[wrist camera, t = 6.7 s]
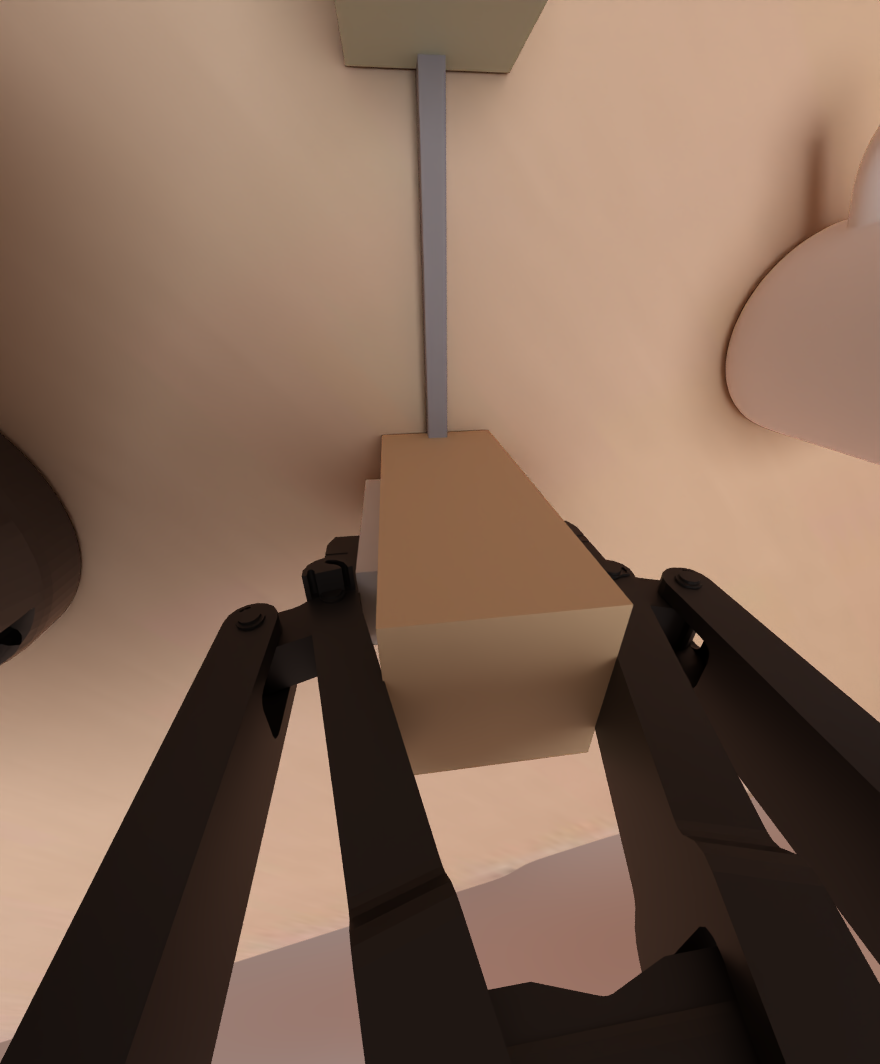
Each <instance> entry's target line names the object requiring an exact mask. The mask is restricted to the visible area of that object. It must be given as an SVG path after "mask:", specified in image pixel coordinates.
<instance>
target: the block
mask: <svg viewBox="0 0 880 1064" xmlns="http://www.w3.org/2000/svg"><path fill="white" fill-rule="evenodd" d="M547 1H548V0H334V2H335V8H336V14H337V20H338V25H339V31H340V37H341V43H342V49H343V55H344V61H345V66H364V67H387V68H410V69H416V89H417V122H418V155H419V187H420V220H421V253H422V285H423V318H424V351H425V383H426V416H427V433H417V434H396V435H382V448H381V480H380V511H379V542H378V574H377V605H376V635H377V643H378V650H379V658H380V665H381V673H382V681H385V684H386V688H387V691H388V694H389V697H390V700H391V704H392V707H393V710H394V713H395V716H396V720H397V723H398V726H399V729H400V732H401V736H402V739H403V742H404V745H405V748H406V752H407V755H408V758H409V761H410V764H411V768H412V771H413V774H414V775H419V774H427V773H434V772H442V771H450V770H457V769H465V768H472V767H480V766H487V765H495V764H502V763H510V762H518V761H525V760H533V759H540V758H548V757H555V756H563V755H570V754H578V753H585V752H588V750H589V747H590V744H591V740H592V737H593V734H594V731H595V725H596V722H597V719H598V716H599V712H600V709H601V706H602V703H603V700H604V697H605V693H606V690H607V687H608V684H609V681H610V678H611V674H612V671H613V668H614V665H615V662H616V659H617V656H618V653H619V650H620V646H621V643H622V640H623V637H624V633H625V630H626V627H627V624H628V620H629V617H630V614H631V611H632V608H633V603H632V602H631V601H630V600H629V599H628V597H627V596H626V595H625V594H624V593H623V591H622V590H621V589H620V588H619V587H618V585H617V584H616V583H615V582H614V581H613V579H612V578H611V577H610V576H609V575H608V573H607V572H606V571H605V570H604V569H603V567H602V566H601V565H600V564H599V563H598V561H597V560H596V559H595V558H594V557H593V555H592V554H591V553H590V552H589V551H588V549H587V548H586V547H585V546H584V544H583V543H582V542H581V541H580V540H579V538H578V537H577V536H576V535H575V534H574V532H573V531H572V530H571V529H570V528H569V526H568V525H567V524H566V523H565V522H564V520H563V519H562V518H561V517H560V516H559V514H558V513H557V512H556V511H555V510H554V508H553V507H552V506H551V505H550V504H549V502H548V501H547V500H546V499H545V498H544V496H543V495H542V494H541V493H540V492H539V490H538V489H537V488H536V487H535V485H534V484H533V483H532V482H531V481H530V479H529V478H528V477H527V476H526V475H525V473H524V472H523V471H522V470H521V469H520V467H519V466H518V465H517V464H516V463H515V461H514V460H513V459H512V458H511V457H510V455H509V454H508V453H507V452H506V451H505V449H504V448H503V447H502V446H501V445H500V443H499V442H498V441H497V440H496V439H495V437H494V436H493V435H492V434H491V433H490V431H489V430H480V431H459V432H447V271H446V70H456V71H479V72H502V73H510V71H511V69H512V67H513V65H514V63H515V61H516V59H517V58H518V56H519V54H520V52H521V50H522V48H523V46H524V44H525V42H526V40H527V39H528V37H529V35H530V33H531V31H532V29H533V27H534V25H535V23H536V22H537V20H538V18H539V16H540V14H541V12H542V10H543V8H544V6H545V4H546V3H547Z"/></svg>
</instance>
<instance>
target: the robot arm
mask: <svg viewBox="0 0 880 1064" xmlns="http://www.w3.org/2000/svg"><path fill="white" fill-rule="evenodd" d="M380 480H381V479H371V480H366V483H365V492H364V501H363V510H362V519H361V528H360V536H346V537H335V538H334V539H333V540H332V541H331V542H330V543H329V544H328V545H327V550H326V554H325V555H326V556H325V558H323V559H320V560H317V561H315V562H313V563H311V564H309V565H308V566H307V567H306V568H305V569H304V570H303V573H302V580H303V584H304V589H305V593H306V597H307V602H306V603H304V604H302V605H300V606H298V607H295V608H293V609H290V610H286V611H283V612H280V613H278V612H277V610H276V609H275V607H274V606H272V605H269V604H265V603H256V604H251V605H247V606H244V607H242V608H240V609H237V610H236V611H235V612H233V613H232V614H230V615H229V616H228V617H227V619H226V620H225V621H224V622H223V624H222V626H221V628H220V630H219V632H218V634H217V636H216V638H215V640H214V642H213V644H212V646H211V648H210V650H209V652H208V654H207V656H206V658H205V660H204V662H203V664H202V666H201V668H200V670H199V672H198V674H197V676H196V678H195V679H194V681H193V683H192V685H191V687H190V689H189V691H188V693H187V695H186V697H185V699H184V701H183V703H182V705H181V707H180V709H179V711H178V713H177V715H176V717H175V719H174V721H173V723H172V725H171V727H170V729H169V731H168V733H167V735H166V737H165V739H164V741H163V743H162V745H161V747H160V749H159V751H158V753H157V754H156V756H155V758H154V760H153V762H152V764H151V766H150V768H149V770H148V772H147V774H146V776H145V778H144V780H143V782H142V784H141V786H140V788H139V790H138V792H137V794H136V796H135V798H134V800H133V802H132V804H131V806H130V808H129V810H128V812H127V814H126V816H125V818H124V820H123V822H122V824H121V826H120V828H119V830H118V831H117V833H116V835H115V837H114V839H113V841H112V843H111V845H110V847H109V849H108V851H107V853H106V855H105V857H104V859H103V861H102V863H101V865H100V867H99V869H98V871H97V873H96V875H95V877H94V879H93V881H92V883H91V885H90V887H89V889H88V891H87V893H86V895H85V897H84V899H83V901H82V903H81V905H80V906H79V908H78V910H77V912H76V914H75V916H74V918H73V920H72V922H71V924H70V926H69V928H68V930H67V932H66V934H65V936H64V938H63V940H62V942H61V944H60V946H59V948H58V950H57V952H56V954H55V956H54V958H53V960H52V962H51V964H50V966H49V968H48V970H47V972H46V974H45V976H44V978H43V980H42V981H41V983H40V985H39V987H38V989H37V991H36V993H35V995H34V997H33V999H32V1001H31V1003H30V1005H29V1007H28V1009H27V1011H26V1013H25V1015H24V1017H23V1019H22V1021H21V1023H20V1025H19V1027H18V1029H17V1031H16V1033H15V1035H14V1037H13V1039H12V1041H11V1043H10V1045H9V1047H8V1049H7V1051H6V1053H5V1055H4V1057H3V1058H2V1060H1V1063H0V1064H211V1061H212V1057H213V1052H214V1048H215V1043H216V1039H217V1034H218V1030H219V1026H220V1022H221V1017H222V1012H223V1008H224V1004H225V999H226V995H227V991H228V986H229V982H230V977H231V973H232V968H233V964H234V960H235V956H236V951H237V947H238V942H239V938H240V934H241V929H242V925H243V920H244V916H245V912H246V907H247V903H248V898H249V894H250V890H251V885H252V881H253V876H254V872H255V868H256V863H257V859H258V855H259V850H260V846H261V841H262V837H263V833H264V828H265V824H266V819H267V815H268V811H269V806H270V802H271V797H272V793H273V789H274V784H275V780H276V775H277V771H278V767H279V762H280V758H281V753H282V749H283V745H284V740H285V736H286V731H287V727H288V723H289V718H290V714H291V709H292V705H293V701H294V696H295V692H296V687H297V684H298V683H301V682H304V681H306V680H309V679H312V678H314V677H318V684H319V691H320V699H321V706H322V714H323V721H324V729H325V736H326V743H327V751H328V758H329V766H330V773H331V781H332V788H333V795H334V803H335V810H336V818H337V825H338V833H339V840H340V847H341V855H342V862H343V870H344V877H345V885H346V892H347V900H348V908H349V918H350V925H349V932H350V945H351V954H352V962H353V972H354V979H355V987H356V995H357V1003H358V1011H359V1018H360V1026H361V1034H362V1041H363V1049H364V1056H365V1064H880V984H879V982H878V980H877V978H876V976H875V975H874V973H873V971H872V969H871V968H870V966H869V964H868V962H867V961H866V959H865V957H864V955H863V954H862V952H861V950H860V948H859V946H858V945H857V943H856V941H855V939H854V938H853V936H852V934H851V932H850V931H849V929H848V927H847V925H846V924H845V922H844V920H843V918H842V917H841V915H840V913H839V911H840V912H841V914H842V915H843V916H844V918H845V919H846V920H847V922H848V923H849V924H850V926H851V927H852V928H853V930H854V931H855V932H856V934H857V935H858V936H859V938H860V939H861V940H862V942H863V943H864V944H865V946H866V947H867V948H868V950H869V951H870V952H871V954H872V955H873V956H874V958H875V959H876V960H877V962H878V963H879V964H880V723H879V722H878V721H877V720H876V719H875V718H873V717H872V716H871V715H870V714H869V713H868V712H866V711H865V710H864V709H863V708H862V707H860V706H859V705H858V704H857V703H856V702H854V701H853V700H852V699H851V698H850V697H849V696H847V695H846V694H845V693H844V692H843V691H841V690H840V689H839V688H838V687H837V686H835V685H834V684H833V683H832V682H831V681H830V680H828V679H827V678H826V677H825V676H824V675H822V674H821V673H820V672H819V671H818V670H817V669H815V668H814V667H813V666H812V665H811V664H809V663H808V662H807V661H806V660H805V659H803V658H802V657H801V656H800V655H799V654H798V653H796V652H795V651H794V650H793V649H792V648H790V647H789V646H788V645H787V644H786V643H784V642H783V641H782V640H781V639H780V638H779V637H777V636H776V635H775V634H774V633H773V632H771V631H770V630H769V629H768V628H767V627H766V626H764V625H763V624H762V623H761V622H760V621H758V620H757V619H756V618H755V617H754V616H752V615H751V614H750V613H749V612H748V611H747V610H745V609H744V608H743V607H742V606H741V605H739V604H738V603H737V602H736V601H735V600H733V599H732V598H731V597H730V596H729V595H728V594H726V593H725V592H724V591H723V590H722V589H720V588H719V587H718V586H717V585H716V584H715V583H713V582H712V581H711V580H710V579H708V578H707V577H705V576H704V575H702V574H700V573H698V572H695V571H694V570H691V569H687V568H669V569H666V570H665V571H664V572H663V573H662V576H661V579H660V580H652V579H644V578H637V577H635V576H634V574H633V573H632V571H631V570H630V569H629V568H628V567H626V566H624V565H623V564H620V563H618V562H615V561H610V560H605V559H604V557H603V556H602V555H601V554H600V553H599V552H598V551H597V549H596V548H595V547H594V546H593V545H592V544H591V543H590V542H589V540H588V539H587V538H586V537H585V536H584V535H583V533H582V532H581V531H580V530H579V529H578V528H577V527H576V526H574V525H573V524H571V523H569V522H567V521H564V522H565V523H566V524H567V525H568V526H569V528H570V529H571V530H572V531H573V532H574V534H575V535H576V536H577V537H578V538H579V540H580V541H581V542H582V543H583V544H584V546H585V547H586V548H587V549H588V551H589V552H590V553H591V554H592V555H593V557H594V558H595V559H596V560H597V561H598V563H599V564H600V565H601V566H602V567H603V569H604V570H605V571H606V572H607V573H608V575H609V576H610V577H611V578H612V579H613V581H614V582H615V583H616V584H617V585H618V587H619V588H620V589H621V590H622V591H623V593H624V594H625V595H626V596H627V597H628V599H629V600H630V601H631V602H632V603H633V608H632V611H631V614H630V617H629V620H628V624H627V627H626V630H625V633H624V637H623V640H622V643H621V646H620V650H619V653H618V656H617V659H616V662H615V665H614V668H613V671H612V674H611V678H610V681H609V684H608V687H607V690H606V693H605V697H604V700H603V703H602V706H601V709H600V712H599V716H598V719H597V722H596V725H595V731H596V735H597V739H598V744H599V748H600V752H601V756H602V760H603V765H604V769H605V773H606V777H607V782H608V786H609V790H610V794H611V798H612V803H613V807H614V811H615V815H616V820H617V824H618V828H619V832H620V836H621V841H622V845H623V849H624V853H625V858H626V862H627V866H628V870H629V874H630V879H631V882H632V887H633V892H634V898H635V908H636V909H635V933H636V944H637V950H638V956H639V961H640V966H641V970H642V973H641V974H640V975H638V976H637V977H635V978H634V979H632V980H631V981H630V982H628V983H627V984H626V985H624V986H623V987H622V988H620V989H619V990H617V991H616V992H615V993H614V994H611V995H609V996H598V995H593V994H588V993H583V992H578V991H573V990H568V989H563V988H558V987H553V986H549V985H544V984H539V983H534V982H528V983H522V984H517V985H512V986H506V987H501V988H496V989H491V990H488V989H487V986H486V983H485V980H484V977H483V974H482V971H481V967H480V964H479V961H478V958H477V955H476V952H475V949H474V946H473V943H472V939H471V936H470V933H469V930H468V927H467V924H466V921H465V918H464V915H463V912H462V909H461V906H460V903H459V900H458V897H457V894H456V892H455V890H454V887H453V885H452V882H451V880H450V879H449V877H448V876H447V874H446V873H445V871H444V868H443V866H442V863H441V860H440V857H439V854H438V851H437V847H436V844H435V841H434V838H433V835H432V831H431V828H430V825H429V822H428V819H427V815H426V812H425V809H424V806H423V803H422V799H421V796H420V793H419V790H418V787H417V784H416V780H415V777H414V774H413V771H412V768H411V764H410V761H409V758H408V755H407V752H406V748H405V745H404V742H403V739H402V736H401V732H400V729H399V726H398V723H397V720H396V716H395V713H394V710H393V707H392V704H391V700H390V697H389V694H388V691H387V688H386V684H385V681H382V673H381V668H380V665H379V662H378V659H377V656H376V652H375V649H374V646H373V645H378V643H377V635H376V605H377V574H378V542H379V511H380ZM80 572H81V560H80V551H79V546H78V542H77V538H76V535H75V532H74V529H73V527H72V524H71V522H70V519H69V518H68V516H67V514H66V512H65V510H64V508H63V506H62V504H61V503H60V501H59V499H58V498H57V496H56V495H55V493H54V492H53V490H52V489H51V487H50V486H49V484H48V483H47V482H46V481H45V479H44V478H43V477H42V476H41V474H40V473H39V472H38V471H37V470H36V468H35V467H34V466H33V465H32V464H31V463H30V462H29V460H28V459H27V458H26V457H25V456H24V455H23V454H22V453H21V452H20V451H19V450H18V449H17V448H16V447H15V446H14V445H13V444H12V443H10V442H9V441H8V440H7V439H6V438H5V437H4V436H3V435H2V434H1V433H0V665H2V664H3V663H5V662H7V661H8V660H10V659H12V658H13V657H14V656H16V655H17V654H19V653H20V652H21V651H23V650H24V649H26V648H27V647H28V646H29V645H30V644H31V643H32V642H33V641H34V640H35V639H37V638H38V637H39V636H40V635H41V634H42V633H43V632H44V631H45V630H46V629H47V628H48V627H49V626H50V625H51V624H52V623H54V622H55V621H56V620H57V619H58V618H59V617H60V616H61V615H62V614H63V613H64V611H65V610H66V609H67V608H68V606H69V605H70V603H71V601H72V600H73V598H74V596H75V593H76V591H77V588H78V584H79V580H80ZM695 633H697V634H698V635H699V636H700V637H701V638H702V639H703V640H704V641H703V644H702V646H701V647H699V646H697V645H696V644H695V643H694V642H693V638H694V636H695ZM738 776H739V777H738ZM739 778H740V779H741V780H742V782H743V783H744V784H745V786H746V787H747V788H748V790H749V791H750V792H751V794H752V795H753V796H754V798H755V799H756V800H757V801H758V803H759V804H760V806H761V807H762V808H763V810H764V811H765V812H766V814H767V815H768V816H769V818H770V819H771V820H772V822H773V823H774V824H775V826H776V827H777V828H778V830H779V831H780V832H781V834H782V835H783V836H784V838H785V839H786V840H787V841H788V843H789V844H790V846H791V847H792V848H793V850H794V851H795V852H796V854H794V853H792V852H790V851H787V850H785V849H782V848H780V847H779V846H778V845H777V844H776V843H775V842H774V841H773V840H772V839H771V837H770V836H769V834H768V832H767V831H766V829H765V827H764V825H763V823H762V821H761V819H760V817H759V815H758V813H757V812H756V809H755V808H754V806H753V804H752V802H751V800H750V798H749V796H748V794H747V792H746V790H745V788H744V786H743V784H742V782H741V780H740V779H739ZM836 907H837V908H838V909H837V908H836ZM838 910H839V911H838Z"/></svg>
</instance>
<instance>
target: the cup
mask: <svg viewBox="0 0 880 1064" xmlns="http://www.w3.org/2000/svg"><path fill="white" fill-rule="evenodd" d="M726 381H727V386H728V390H729V393H730V396H731V398H732V400H733V402H734V404H735V406H736V407H737V408H738V409H739V411H740V412H741V413H742V414H743V415H744V416H745V417H746V418H747V419H749V420H750V421H752V422H754V423H756V424H758V425H760V426H762V427H764V428H766V429H769V430H772V431H775V432H778V433H781V434H784V435H787V436H790V437H793V438H796V439H800V440H803V441H806V442H809V443H812V444H815V445H818V446H822V447H825V448H828V449H831V450H834V451H837V452H840V453H844V454H847V455H850V456H853V457H856V458H859V459H863V460H866V461H869V462H872V463H875V464H878V465H880V125H879V127H878V128H877V130H876V132H875V133H874V135H873V137H872V138H871V140H870V142H869V145H868V147H867V149H866V151H865V153H864V155H863V158H862V160H861V163H860V166H859V169H858V172H857V175H856V179H855V183H854V187H853V192H852V197H851V203H850V210H849V218H848V219H846V220H843V221H840V222H838V223H835V224H833V225H831V226H829V227H827V228H825V229H823V230H821V231H820V232H818V233H816V234H814V235H813V236H811V237H810V238H808V239H807V240H805V241H804V242H802V243H801V244H799V245H798V246H797V247H796V248H794V249H793V250H792V251H791V252H789V253H788V254H787V255H786V256H785V257H784V258H783V259H782V260H781V261H780V262H779V263H777V264H776V266H775V267H774V268H773V269H772V270H771V271H770V272H769V273H768V274H767V275H766V276H765V278H764V279H763V280H762V281H761V282H760V284H759V285H758V286H757V288H756V289H755V290H754V292H753V293H752V295H751V296H750V298H749V299H748V301H747V303H746V304H745V306H744V308H743V310H742V312H741V314H740V316H739V318H738V320H737V322H736V325H735V327H734V330H733V332H732V335H731V339H730V342H729V346H728V351H727V357H726Z"/></svg>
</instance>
